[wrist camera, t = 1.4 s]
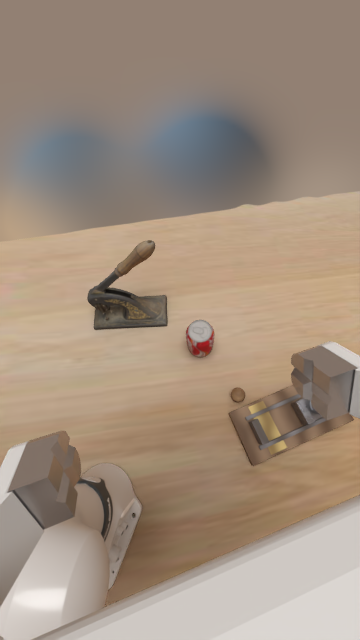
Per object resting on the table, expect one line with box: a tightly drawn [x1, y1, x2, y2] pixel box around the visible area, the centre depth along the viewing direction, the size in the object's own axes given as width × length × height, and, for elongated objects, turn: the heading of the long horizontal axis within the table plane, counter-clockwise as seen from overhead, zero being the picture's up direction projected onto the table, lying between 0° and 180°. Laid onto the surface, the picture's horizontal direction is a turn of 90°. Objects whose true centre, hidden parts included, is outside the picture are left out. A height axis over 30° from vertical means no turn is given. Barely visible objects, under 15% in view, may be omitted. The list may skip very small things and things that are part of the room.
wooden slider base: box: [229, 385, 354, 466], centre depth 57 cm, size 26×12×6 cm, turn 111°
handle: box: [290, 398, 322, 424], centre depth 49 cm, size 8×5×19 cm, turn 111°
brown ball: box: [231, 388, 245, 402], centre depth 61 cm, size 3×3×3 cm
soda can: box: [186, 320, 214, 357], centre depth 63 cm, size 7×7×12 cm
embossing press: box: [88, 240, 167, 329], centre depth 61 cm, size 11×24×30 cm, turn 89°
